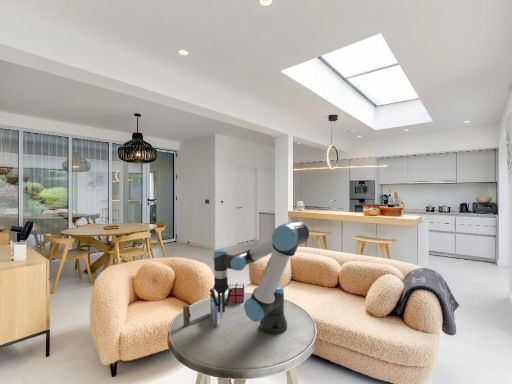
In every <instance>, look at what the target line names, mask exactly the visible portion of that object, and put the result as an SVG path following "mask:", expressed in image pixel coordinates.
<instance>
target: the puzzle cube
mask: <svg viewBox="0 0 512 384" xmlns="http://www.w3.org/2000/svg"><path fill="white" fill-rule="evenodd" d="M228 285H229V287H230V288H232V291H231V293H230V297H229V301H228V304H229V303H230V302H235V303H236V302H238V303H244V302H245V301H244V300H245V283H244V282H229V284H228Z"/></svg>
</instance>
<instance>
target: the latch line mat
mask: <svg viewBox="0 0 512 384" xmlns="http://www.w3.org/2000/svg"><path fill="white" fill-rule="evenodd" d="M210 317H212V315H211V313H209V312H208V313H206V314H204V315H202V316H199V317H197V318H195V319H193V320H190V326H193V325H195V324H198V323H199V322H201V321H203V320H206V319H208V318H210Z"/></svg>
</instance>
